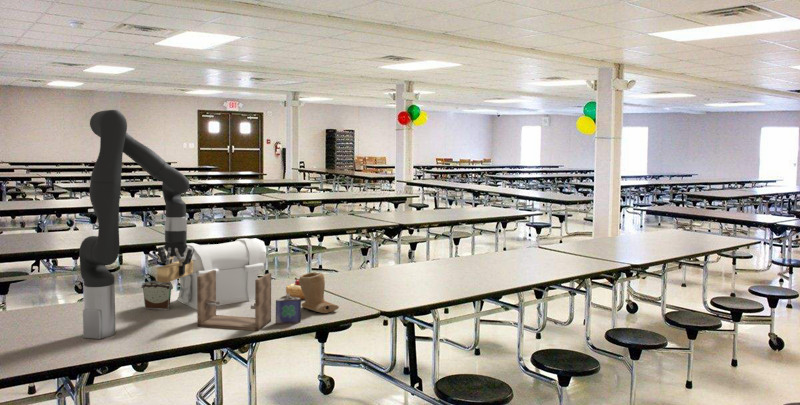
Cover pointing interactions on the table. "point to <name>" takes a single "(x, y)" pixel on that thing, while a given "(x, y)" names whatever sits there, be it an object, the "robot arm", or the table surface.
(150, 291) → the food container
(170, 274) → the shelf board
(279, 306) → the flask
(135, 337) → the table surface
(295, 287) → the pastry
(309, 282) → the tan ankle boot
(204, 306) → the shelf rack
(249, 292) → the chest
